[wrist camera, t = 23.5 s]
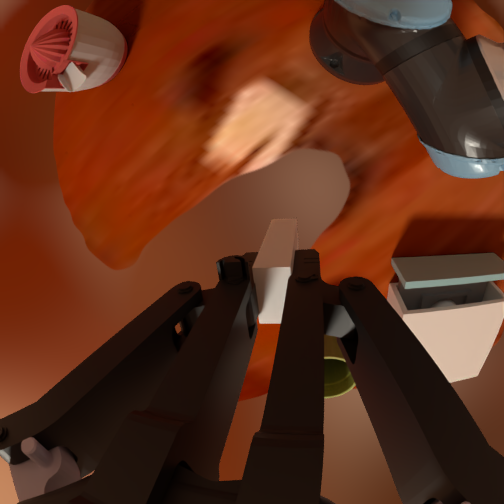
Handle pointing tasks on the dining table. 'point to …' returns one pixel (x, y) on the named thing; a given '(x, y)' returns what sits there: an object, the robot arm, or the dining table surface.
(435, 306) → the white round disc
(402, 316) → the white drawer box
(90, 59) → the citrus juicer
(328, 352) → the plant pot
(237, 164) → the dining table surface
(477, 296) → the drawer
